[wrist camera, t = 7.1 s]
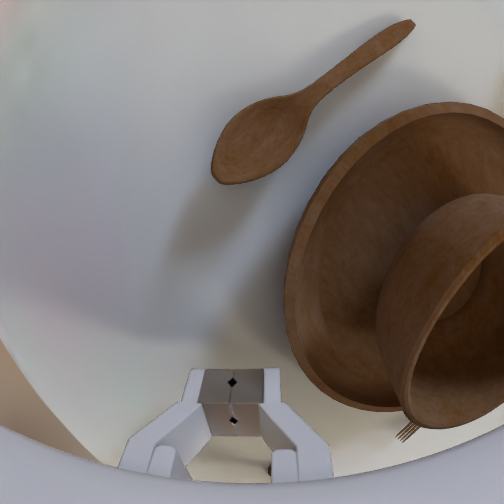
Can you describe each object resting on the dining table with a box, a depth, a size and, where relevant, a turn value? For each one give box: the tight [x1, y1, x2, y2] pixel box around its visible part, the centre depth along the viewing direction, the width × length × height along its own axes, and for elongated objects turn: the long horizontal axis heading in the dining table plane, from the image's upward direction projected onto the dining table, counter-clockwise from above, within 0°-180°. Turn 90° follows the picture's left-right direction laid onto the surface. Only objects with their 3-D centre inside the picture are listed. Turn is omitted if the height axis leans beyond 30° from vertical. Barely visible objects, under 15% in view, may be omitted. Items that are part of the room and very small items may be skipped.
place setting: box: [211, 19, 504, 476], centre depth 8 cm, size 18×20×6 cm
